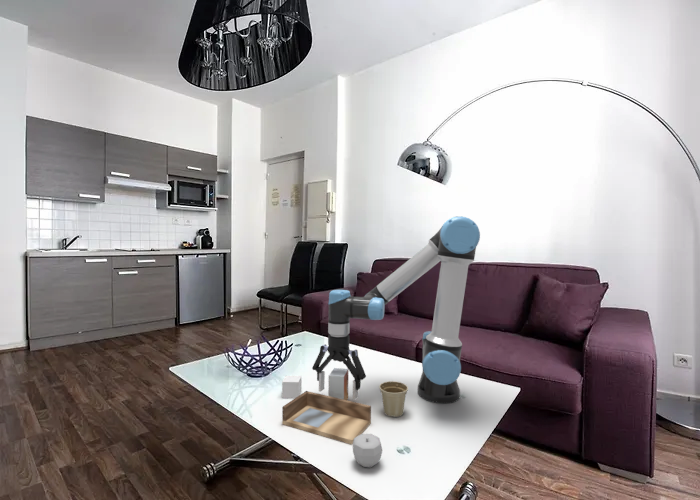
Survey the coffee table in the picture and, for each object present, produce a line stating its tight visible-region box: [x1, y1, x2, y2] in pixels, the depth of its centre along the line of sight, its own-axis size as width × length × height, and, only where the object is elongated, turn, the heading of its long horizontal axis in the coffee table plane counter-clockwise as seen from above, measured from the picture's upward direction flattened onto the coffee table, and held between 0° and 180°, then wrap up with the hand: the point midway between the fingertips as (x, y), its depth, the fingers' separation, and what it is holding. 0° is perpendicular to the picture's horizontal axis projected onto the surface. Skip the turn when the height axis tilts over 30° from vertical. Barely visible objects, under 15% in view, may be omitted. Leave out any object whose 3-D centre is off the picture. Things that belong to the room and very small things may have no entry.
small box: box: [328, 367, 349, 400], centre depth 122 cm, size 8×6×10 cm
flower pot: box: [378, 380, 409, 418], centre depth 114 cm, size 9×9×9 cm
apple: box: [352, 433, 383, 468], centre depth 88 cm, size 8×8×7 cm
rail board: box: [281, 390, 372, 446], centre depth 107 cm, size 24×13×5 cm, turn 63°
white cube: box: [281, 375, 302, 399], centre depth 128 cm, size 6×6×6 cm
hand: (338, 394), depth 123 cm, fingers open, 13 cm apart
